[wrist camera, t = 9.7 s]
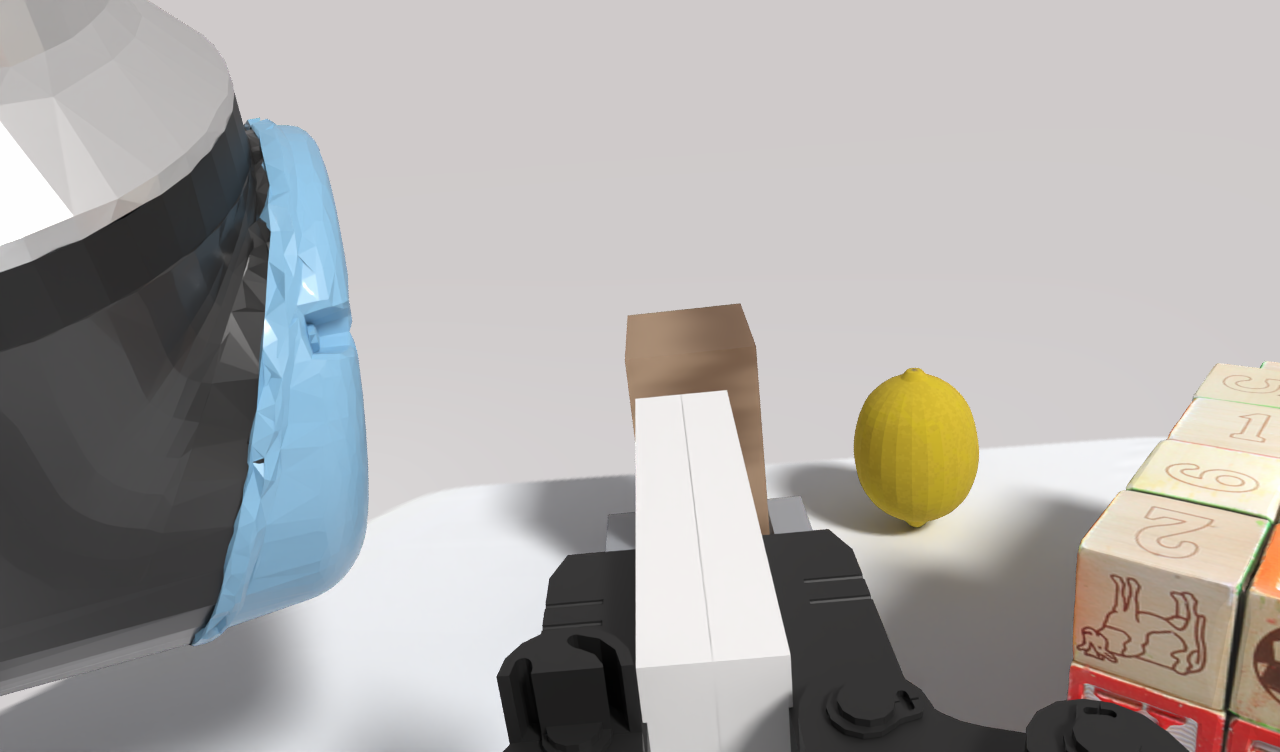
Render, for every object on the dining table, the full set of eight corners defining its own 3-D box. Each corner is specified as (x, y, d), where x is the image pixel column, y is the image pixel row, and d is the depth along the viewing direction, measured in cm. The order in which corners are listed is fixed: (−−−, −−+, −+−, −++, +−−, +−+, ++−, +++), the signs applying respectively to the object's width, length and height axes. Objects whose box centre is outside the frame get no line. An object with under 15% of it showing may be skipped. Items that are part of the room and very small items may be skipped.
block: (655, 604, 39) (625, 360, 35) (654, 532, 44) (627, 315, 40) (773, 593, 38) (755, 345, 35) (757, 522, 44) (740, 303, 40)
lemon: (832, 529, 44) (825, 375, 41) (902, 487, 47) (900, 341, 45) (932, 570, 40) (931, 402, 37) (1001, 521, 43) (1005, 362, 40)
